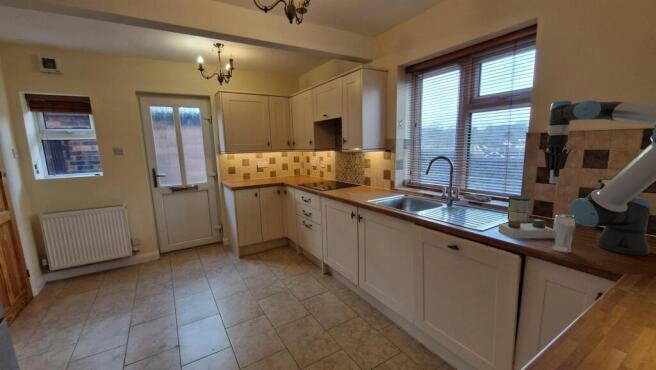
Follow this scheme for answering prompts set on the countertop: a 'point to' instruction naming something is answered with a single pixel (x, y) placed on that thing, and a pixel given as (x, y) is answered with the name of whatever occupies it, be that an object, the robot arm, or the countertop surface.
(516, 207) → the coffee can
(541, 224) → the knob black
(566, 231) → the beer glass
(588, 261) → the countertop surface
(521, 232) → the knob mount
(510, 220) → the knob walnut
